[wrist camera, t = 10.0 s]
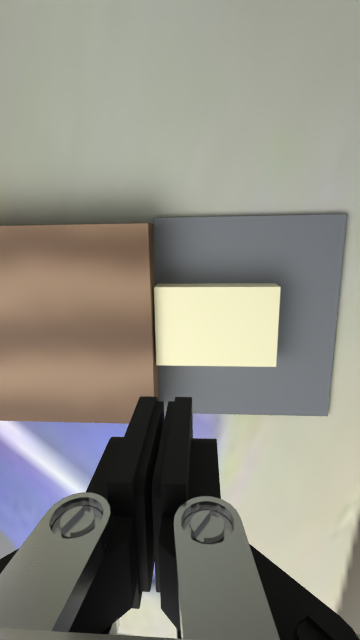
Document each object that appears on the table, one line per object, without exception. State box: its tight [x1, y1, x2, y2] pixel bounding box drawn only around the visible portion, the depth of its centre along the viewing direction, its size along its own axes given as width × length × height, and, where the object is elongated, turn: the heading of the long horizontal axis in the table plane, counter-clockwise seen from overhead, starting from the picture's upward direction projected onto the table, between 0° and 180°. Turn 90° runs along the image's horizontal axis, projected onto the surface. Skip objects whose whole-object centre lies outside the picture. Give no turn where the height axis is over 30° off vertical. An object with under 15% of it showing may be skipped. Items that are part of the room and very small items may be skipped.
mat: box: [154, 214, 347, 416], centre depth 27 cm, size 16×14×1 cm
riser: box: [0, 223, 159, 423], centre depth 27 cm, size 15×14×3 cm
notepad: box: [154, 283, 281, 367], centre depth 26 cm, size 6×9×2 cm, turn 91°
